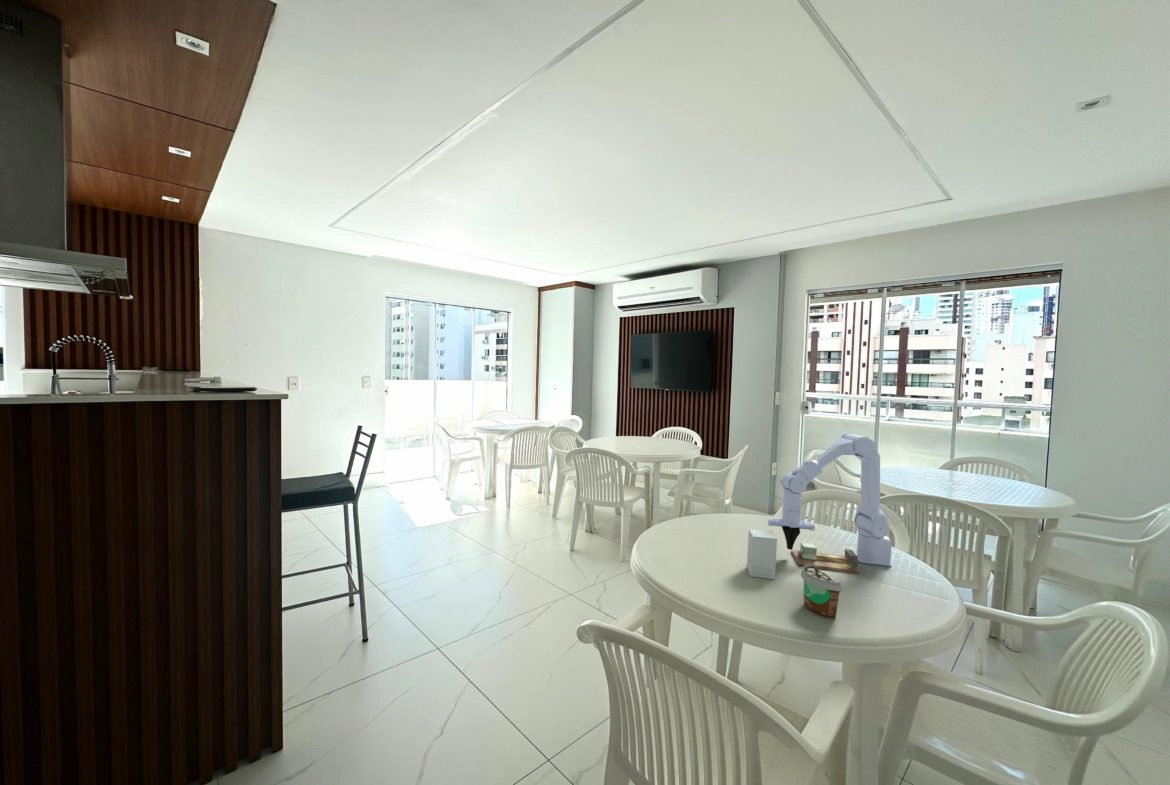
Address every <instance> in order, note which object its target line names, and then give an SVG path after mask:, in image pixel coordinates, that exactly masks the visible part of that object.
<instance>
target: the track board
mask: <svg viewBox="0 0 1170 785" xmlns="http://www.w3.org/2000/svg"><path fill="white" fill-rule="evenodd" d="M855 553H856V552H854V551H853V550H852V549H847V548H845V549H844V555H838V554H830V553H822V552H817V553H816V560H813V559H805V558H803V557H802V552H800V549H797V550H796V549H792V550H791V554H792V556H793V558H794V560H795V561H796V564H797V565H798V567H802V568H804V566H805V565H807V564H812V563H814V567H815V568H816V569H818V570H824V571H825V570H827V571H832V572H833V571H834V572H841V573H849V574H857V575H861V570H860V569H859V568H858V560H857V559H858V556H857V555H856V554H855Z"/></svg>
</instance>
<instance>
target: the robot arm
mask: <svg viewBox="0 0 1170 785" xmlns="http://www.w3.org/2000/svg"><path fill="white" fill-rule="evenodd" d="M876 447H877V446H876V442H875V441H874V440H873V439H871V438H870V437H868V436H865V435H863V436H862V435H857V434H853V433H851V432H846V433H843V434H842V435H841V436H840V437H838V438H836V440H835V442H833V444H832V445H830V446H829V447H828V448H827V449H826V450H825V451H824V452H822V453H821V454H820V455H819V456H818V457H817V458H815V459H808V460H804V461H802V464H801V465H799V467H797V468H796V469H793V470H792V472H790V473H788V472H787V473H786V474H784V475H783V477H782V478H781V480H780V485H781V487H782V488H783V497H782V498H783V499H782V511H781V514H782V515H781V518H768V519H767V526H769V527H772V526H773V527H780V528H781V529H782V532H783V534H784V537H785V542H786V548H787V550H791V551H792V550H793V549H794V548H793V547H794V544H795V542H796V540H797V538H798V537H799V536H800V534H801V529H802V530H807V531H808V530H809V531H812V532H815V530H816V525H815V524H814V523H811V522H806V521H801V519H802V517H801V516H802V500H803V499H802V498H803V492H805V490H806V489H807V487H808V484H809V483H810V482H812V481H813V480H815V479H816V478H817V477H819V475H821V474H822V473H823V468H824V467H826V466H827V465H829V464H831V463H832V462H834V461H835V460H836V459H838V458H840V457H842V456H855V457H856V458H857V459H858V460H859V461H860V468H861V469H860V498H861V499H860V506H859V507H857V509H856V513H855V516H854V519H853V523H854V525H855V526H856V527H857V529H856V530H857V545H856V547H857V548H856V552H854V553H855V554H856V555H857V556H858V559H857V562H859V563H862V564H870V565H877V566H886V567H892V564H891V558H892V542H891V539H890V537H889V536H887V534H888V533H889V529H890V527H889V526H890V525H889V524H888V522H887V516H886V514H885V513H884V511H883V510H882V509H881V456H880V454H879V451H878V449H877V448H876Z"/></svg>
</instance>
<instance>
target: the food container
mask: <svg viewBox="0 0 1170 785" xmlns="http://www.w3.org/2000/svg"><path fill="white" fill-rule="evenodd" d="M800 577H801V578H802V579H803V604H804V605H803V606H804V607H805V609H806V610H807V611H809V612H810V613H812V614H814V615H816V616H819V617H821V618H825V619H836V618H837V613H838V612H837V610H838V604H839V596H840V592H842V585H841V582H840V581H834V580H833V579H832V578H831V577H829V575H827V574H826V573H825V572H822V571H820V569H817V568H815V567H814V563H812V564H807V565H805V566H804V567H802V569H801V572H800Z"/></svg>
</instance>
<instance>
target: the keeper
mask: <svg viewBox="0 0 1170 785" xmlns="http://www.w3.org/2000/svg"><path fill="white" fill-rule="evenodd" d="M799 548H800V549H799V551H800V552H802V557H803V558H805V559H813V560H816V553H818V552H817V549H818V548H817V547H816V545H815V544H814V543H812V542H803V541H801V542H800V547H799Z"/></svg>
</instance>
